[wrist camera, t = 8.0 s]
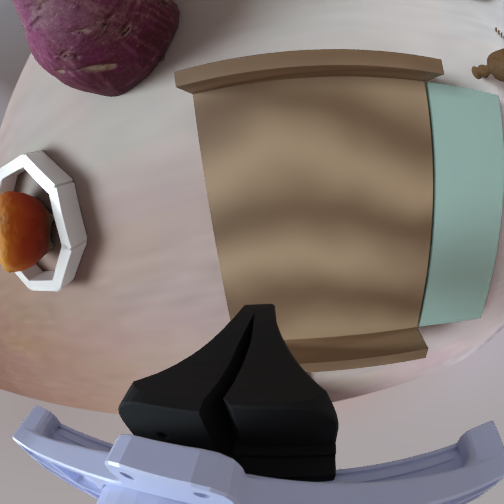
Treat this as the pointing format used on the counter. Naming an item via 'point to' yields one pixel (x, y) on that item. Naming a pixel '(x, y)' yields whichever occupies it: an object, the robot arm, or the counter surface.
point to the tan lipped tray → (322, 195)
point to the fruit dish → (64, 214)
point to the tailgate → (463, 202)
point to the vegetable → (99, 40)
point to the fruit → (23, 231)
